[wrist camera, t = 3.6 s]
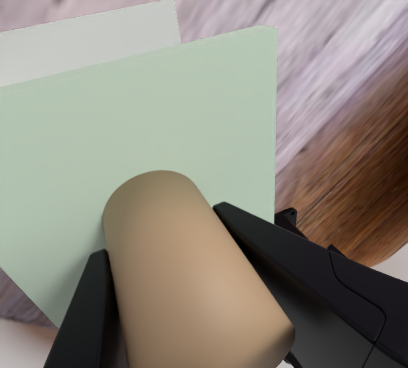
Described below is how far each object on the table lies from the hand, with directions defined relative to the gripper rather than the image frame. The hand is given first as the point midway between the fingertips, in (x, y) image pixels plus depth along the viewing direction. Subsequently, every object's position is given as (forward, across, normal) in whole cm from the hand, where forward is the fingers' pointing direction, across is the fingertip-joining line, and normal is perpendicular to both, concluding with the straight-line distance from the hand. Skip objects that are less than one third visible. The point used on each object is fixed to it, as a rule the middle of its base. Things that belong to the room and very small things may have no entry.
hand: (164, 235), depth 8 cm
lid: (+2, 0, 0) cm, 2 cm away
